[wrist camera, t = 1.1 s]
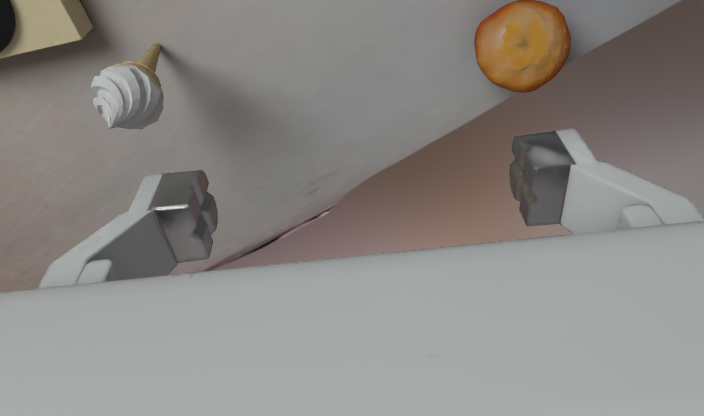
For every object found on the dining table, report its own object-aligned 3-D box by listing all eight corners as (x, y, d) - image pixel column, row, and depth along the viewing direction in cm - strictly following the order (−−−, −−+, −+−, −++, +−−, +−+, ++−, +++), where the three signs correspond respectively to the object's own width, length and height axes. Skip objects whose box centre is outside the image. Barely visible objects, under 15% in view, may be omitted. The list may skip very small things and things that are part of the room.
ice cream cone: (145, 4, 49) (88, 78, 37) (200, 42, 51) (162, 124, 40) (117, 49, 51) (56, 133, 40) (170, 84, 54) (127, 172, 42)
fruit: (500, 106, 55) (501, 109, 47) (464, 36, 54) (458, 28, 47) (578, 64, 52) (591, 61, 45) (540, -10, 52) (547, -26, 44)
